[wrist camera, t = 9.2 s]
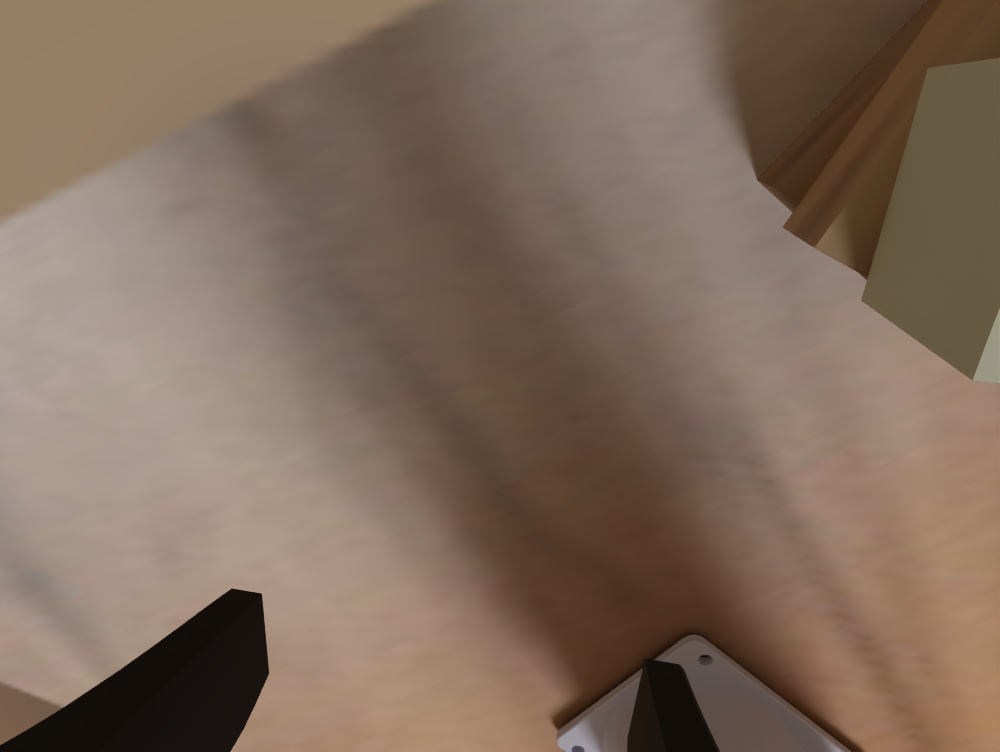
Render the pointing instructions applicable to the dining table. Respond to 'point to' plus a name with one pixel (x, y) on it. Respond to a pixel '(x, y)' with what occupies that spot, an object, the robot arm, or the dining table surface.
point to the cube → (947, 223)
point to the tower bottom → (838, 119)
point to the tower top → (888, 137)
